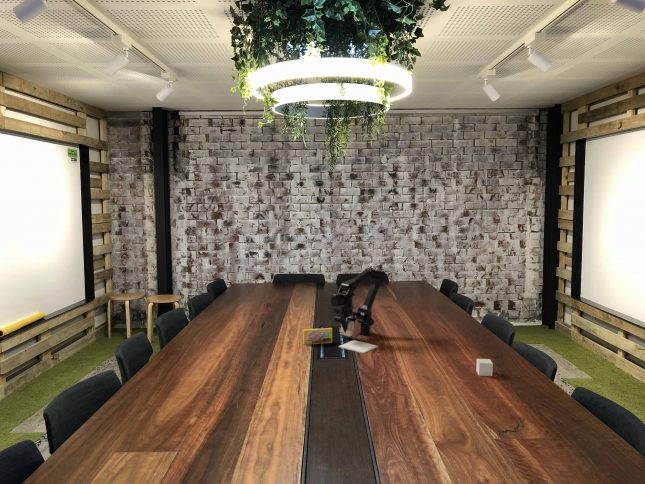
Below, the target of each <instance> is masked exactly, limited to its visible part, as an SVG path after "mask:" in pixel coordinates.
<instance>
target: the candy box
mask: <svg viewBox="0 0 645 484" xmlns="http://www.w3.org/2000/svg"><path fill="white" fill-rule="evenodd" d="M302 332H303V334H302V335H303V337H302V338H303V339H302V344H303V345H304V346H306V345H317V344H318V345H319V344H330V343H331V344H332V343H333V328H332V327H326V328H325V327H322V328H308V329H307V328H306V329H303V331H302Z"/></svg>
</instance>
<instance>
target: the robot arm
mask: <svg viewBox="0 0 645 484" xmlns="http://www.w3.org/2000/svg"><path fill="white" fill-rule="evenodd" d="M369 278H370V282H371V285H370V287H369V289H368V292H367V294H366V296H365V297H366V298H365V300H364V302H363V304H362V306H360V307H359V306H358V308H357V310H355V306H354V305H353V303H354V302H353V301H354V300H353V299H354V298H353V297H356V296H357V294H355V293H354V292H355V291H356V290H357V289H358V286H360V285H361V284H362V283H363V282H365V281H366V280H367V279H369ZM386 280H387V274H386V271H383V270H379V269H373V268H371V267H366V268H365V269H364V270H363V271H362V272H360V273H359V274H357V275H356V276H354V277H353V278H351V279H347V280H346V281H343V282H342V283H341V284H340V286H339V289H338V291H337V293H334V294H332V295H333V296H332V297H331V298H330V305H331V306H332V307H334V308H333V309H332V314H333V315H335V316H334V317H333V322H337V323H340V325H341V324H342V327H343V330H344V332H346V330H347V327H348V323H349V321H347V320H350V321H354V323H355V322H356V321H357V324H360V327H359V328H360V330H359V332H358V333H357V334H358V335H362V336H367V337H368V336H371V335H372V334H374V332H372V330H371V329H372V326H373V325H374V324H375V320H374V319H373V318H372V314H373V313H372V308H373V304H374V302H375V300H376V298H377V293H378V291H379V289H380V287H381V285H383V284H384V283H385V281H386ZM337 307H340V308H337ZM353 309H354V310H353Z"/></svg>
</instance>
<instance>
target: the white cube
mask: <svg viewBox="0 0 645 484" xmlns="http://www.w3.org/2000/svg"><path fill="white" fill-rule="evenodd" d="M475 367H476V369H475V371H476V373H477V374H478V376H479V377H481V376H482V377H483V376H485V377H492V376H493V372H494V369H493V368H494V363H493V362H492V360H491V359H490V358H476V366H475Z"/></svg>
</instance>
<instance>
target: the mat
mask: <svg viewBox="0 0 645 484" xmlns="http://www.w3.org/2000/svg"><path fill="white" fill-rule="evenodd" d="M378 347H379V345H376V344H372V343H367V342H363V341H359V340H356V339H354V340H351V341H347V342H346V343H343V344H340V345H338V348H340V349H344V350H349V351H352V352H356V353H359V354H365V353H367V352H370V351H372V350H374V349H376V348H378Z"/></svg>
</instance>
